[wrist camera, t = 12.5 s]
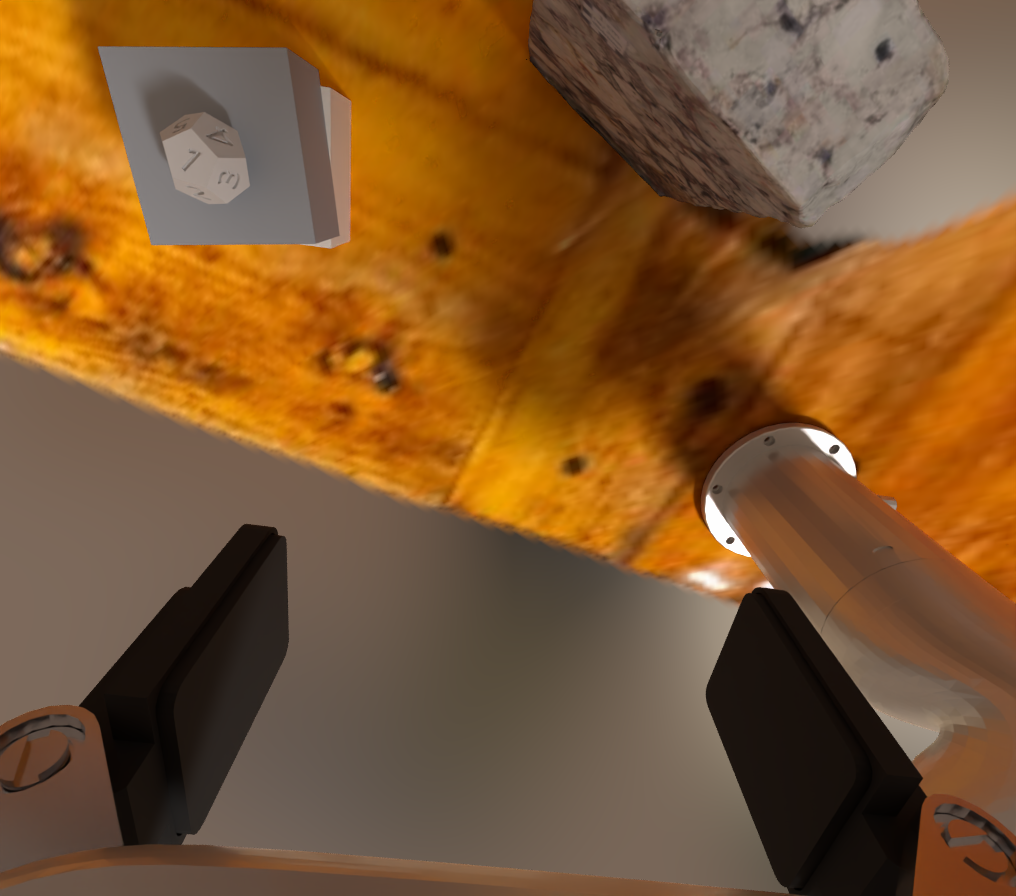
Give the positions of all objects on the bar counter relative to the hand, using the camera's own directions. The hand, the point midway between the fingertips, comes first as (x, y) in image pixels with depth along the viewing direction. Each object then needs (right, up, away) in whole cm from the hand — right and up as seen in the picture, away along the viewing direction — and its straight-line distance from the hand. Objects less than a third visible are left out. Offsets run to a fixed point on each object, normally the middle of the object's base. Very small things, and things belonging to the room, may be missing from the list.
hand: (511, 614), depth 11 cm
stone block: (+7, +25, +22) cm, 34 cm away
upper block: (-14, +19, +19) cm, 30 cm away
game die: (-14, +17, +14) cm, 26 cm away
